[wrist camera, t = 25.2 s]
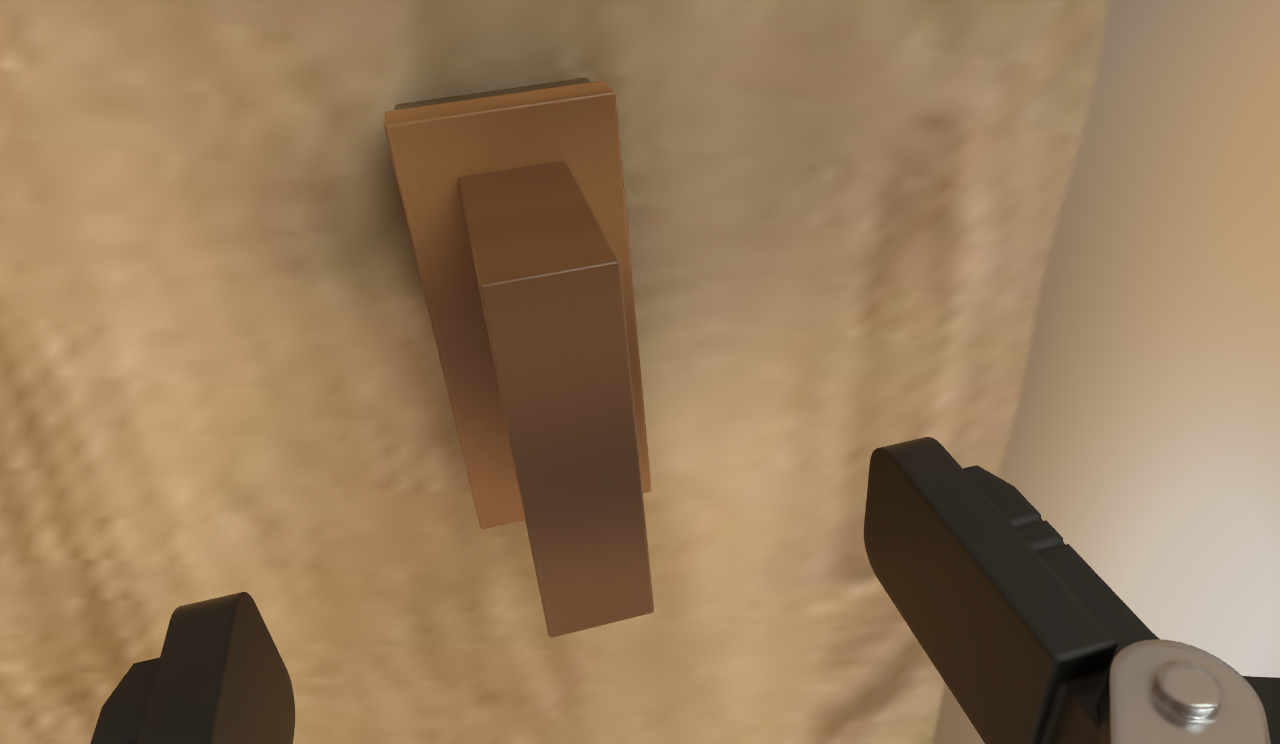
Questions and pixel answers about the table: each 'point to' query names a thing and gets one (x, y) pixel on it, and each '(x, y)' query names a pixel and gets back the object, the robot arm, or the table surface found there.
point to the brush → (537, 327)
